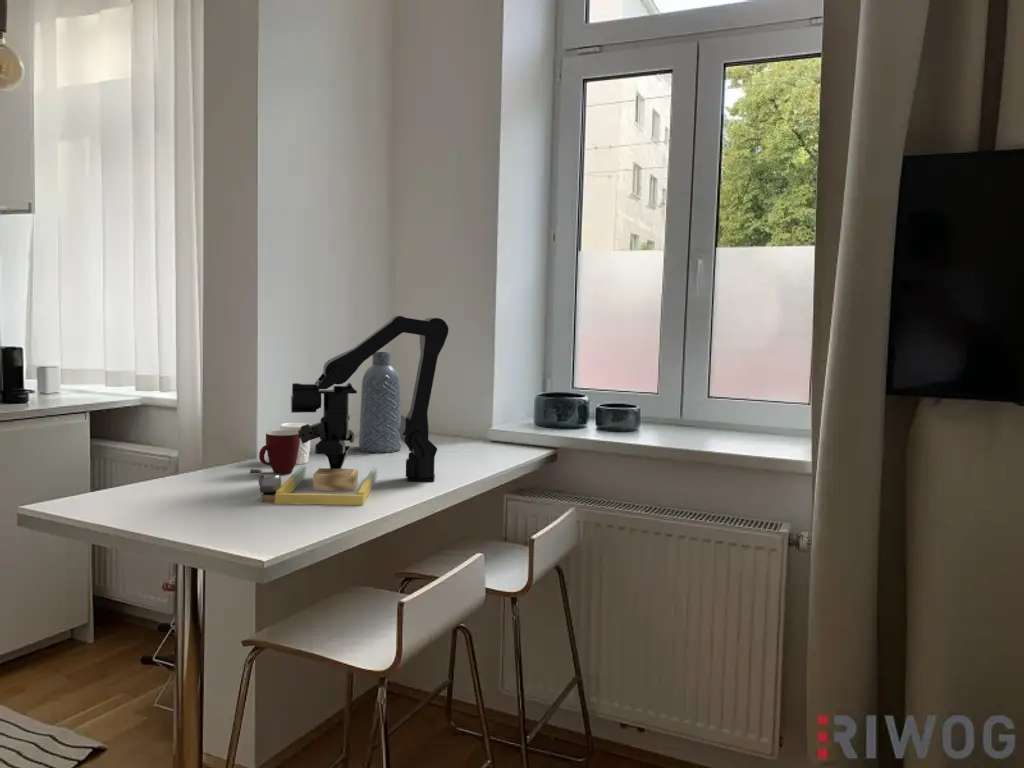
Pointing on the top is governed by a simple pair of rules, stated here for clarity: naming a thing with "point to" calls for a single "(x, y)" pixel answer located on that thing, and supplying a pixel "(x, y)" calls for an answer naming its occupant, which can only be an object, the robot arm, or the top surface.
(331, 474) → the box
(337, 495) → the bay
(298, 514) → the top surface
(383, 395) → the vase
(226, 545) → the top surface
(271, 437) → the mug
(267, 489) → the winch
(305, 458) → the white cup
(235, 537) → the top surface
